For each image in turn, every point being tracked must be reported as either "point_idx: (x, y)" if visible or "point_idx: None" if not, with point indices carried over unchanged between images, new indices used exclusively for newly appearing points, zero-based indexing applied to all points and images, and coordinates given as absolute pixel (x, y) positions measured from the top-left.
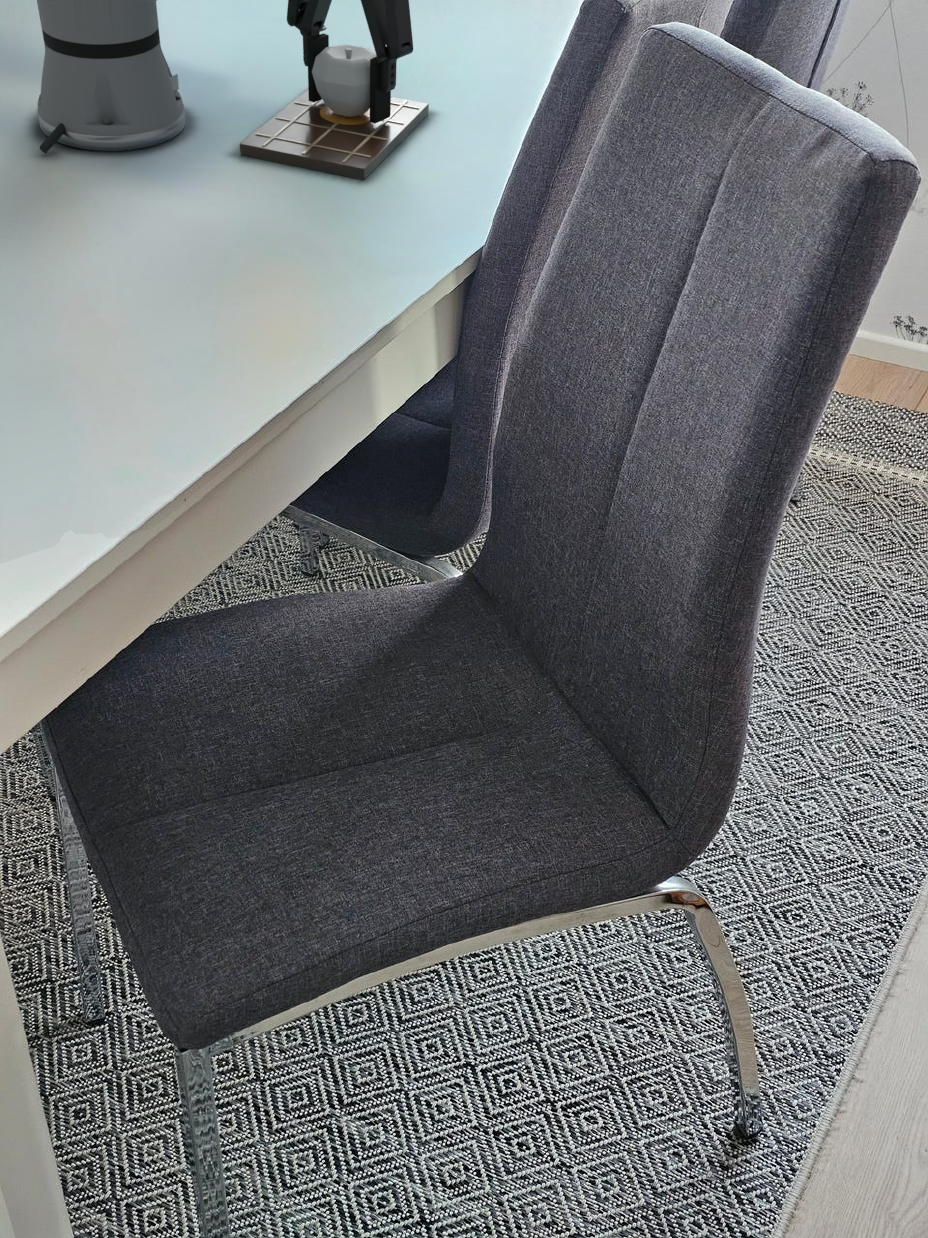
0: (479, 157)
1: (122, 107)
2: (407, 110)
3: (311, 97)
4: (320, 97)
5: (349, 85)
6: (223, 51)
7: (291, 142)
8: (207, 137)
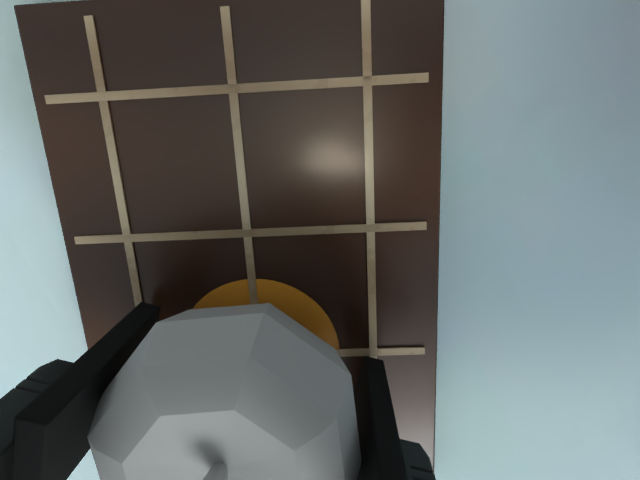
0: None
1: None
2: None
3: (373, 363)
4: (356, 384)
5: (165, 322)
6: None
7: (300, 76)
8: (582, 60)
